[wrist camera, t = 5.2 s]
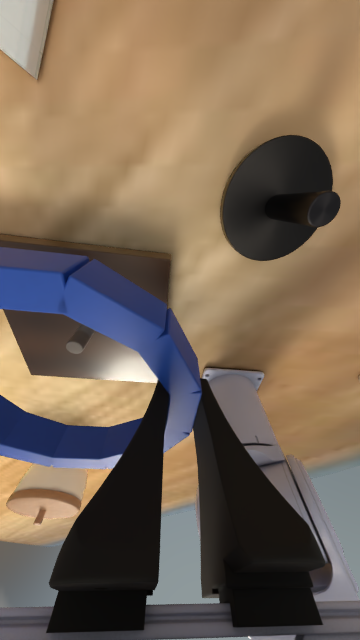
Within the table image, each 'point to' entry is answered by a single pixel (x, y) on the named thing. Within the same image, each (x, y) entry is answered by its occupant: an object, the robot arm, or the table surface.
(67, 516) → the trinket box
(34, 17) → the hard drive
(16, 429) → the ring
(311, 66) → the table surface
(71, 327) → the platform
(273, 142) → the post
